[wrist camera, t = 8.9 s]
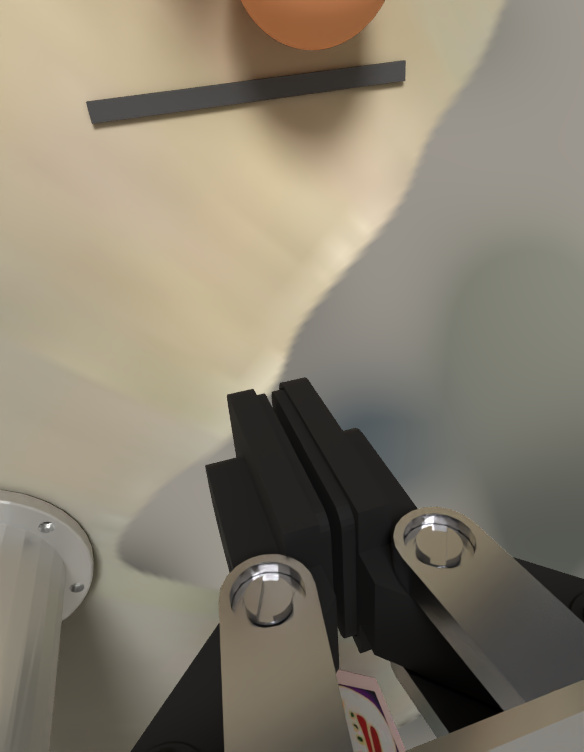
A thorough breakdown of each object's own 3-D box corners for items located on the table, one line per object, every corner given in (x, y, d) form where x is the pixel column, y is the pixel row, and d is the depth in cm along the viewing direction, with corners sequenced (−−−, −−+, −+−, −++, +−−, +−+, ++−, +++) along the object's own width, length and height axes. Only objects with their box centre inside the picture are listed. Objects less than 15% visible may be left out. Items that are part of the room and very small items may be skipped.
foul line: (403, 80, 25) (405, 80, 24) (92, 123, 22) (91, 123, 22) (403, 60, 24) (405, 60, 24) (86, 101, 22) (85, 101, 22)
